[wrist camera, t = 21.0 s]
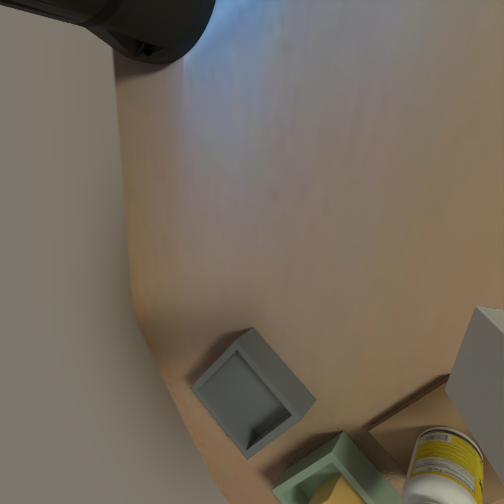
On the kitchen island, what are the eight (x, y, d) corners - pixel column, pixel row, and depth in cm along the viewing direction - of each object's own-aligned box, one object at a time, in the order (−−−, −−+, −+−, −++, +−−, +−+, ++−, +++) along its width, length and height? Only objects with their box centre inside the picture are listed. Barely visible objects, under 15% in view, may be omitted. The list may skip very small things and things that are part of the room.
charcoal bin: (207, 373, 51) (189, 388, 48) (253, 327, 45) (235, 339, 43) (262, 440, 48) (246, 459, 45) (316, 399, 43) (302, 418, 40)
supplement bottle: (463, 492, 36) (451, 594, 28) (405, 452, 38) (379, 536, 30) (498, 452, 34) (496, 550, 26) (434, 412, 36) (414, 490, 28)
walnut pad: (371, 425, 41) (368, 431, 40) (452, 373, 36) (450, 379, 35) (448, 512, 39) (447, 520, 38) (547, 470, 33) (548, 478, 33)
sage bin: (285, 469, 48) (271, 490, 45) (343, 430, 42) (331, 452, 40) (347, 545, 45) (337, 572, 42) (416, 514, 40) (409, 543, 37)
